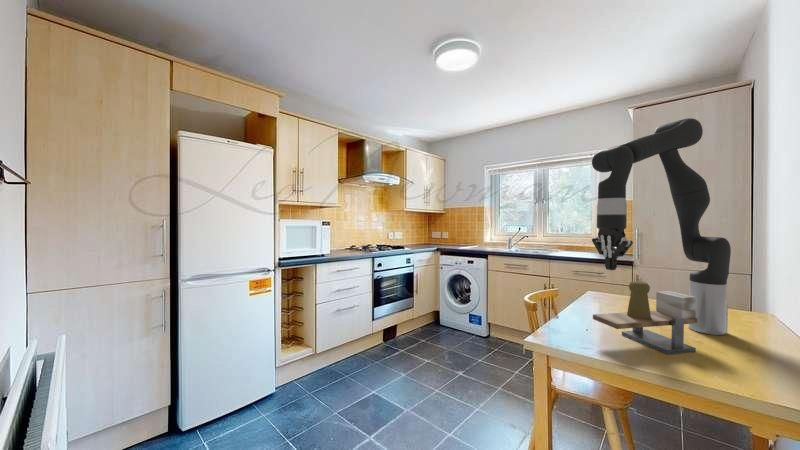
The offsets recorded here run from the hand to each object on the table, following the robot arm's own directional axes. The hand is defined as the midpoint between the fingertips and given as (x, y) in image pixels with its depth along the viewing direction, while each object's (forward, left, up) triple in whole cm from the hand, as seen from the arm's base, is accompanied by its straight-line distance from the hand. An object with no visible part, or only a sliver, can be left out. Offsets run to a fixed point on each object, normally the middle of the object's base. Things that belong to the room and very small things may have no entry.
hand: (610, 269), depth 93 cm
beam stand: (-17, 0, -24) cm, 29 cm away
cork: (-11, 0, -15) cm, 19 cm away
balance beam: (-12, 0, -17) cm, 21 cm away
